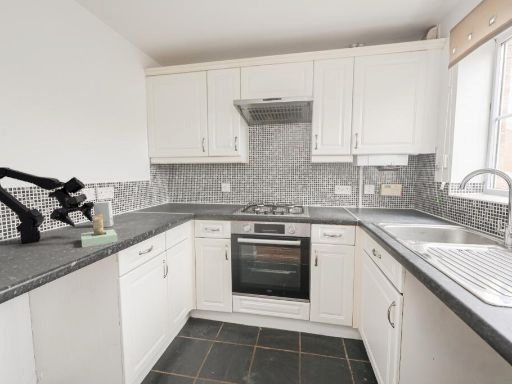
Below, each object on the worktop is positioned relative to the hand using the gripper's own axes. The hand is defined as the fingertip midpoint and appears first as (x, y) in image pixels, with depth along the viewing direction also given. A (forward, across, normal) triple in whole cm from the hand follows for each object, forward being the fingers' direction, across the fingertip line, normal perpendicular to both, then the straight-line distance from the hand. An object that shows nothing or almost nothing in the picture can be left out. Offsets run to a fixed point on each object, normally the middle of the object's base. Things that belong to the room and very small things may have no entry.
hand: (83, 223), depth 117 cm
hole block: (+12, 0, -2) cm, 12 cm away
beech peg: (+12, 0, -2) cm, 12 cm away
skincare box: (-2, +25, +19) cm, 31 cm away
